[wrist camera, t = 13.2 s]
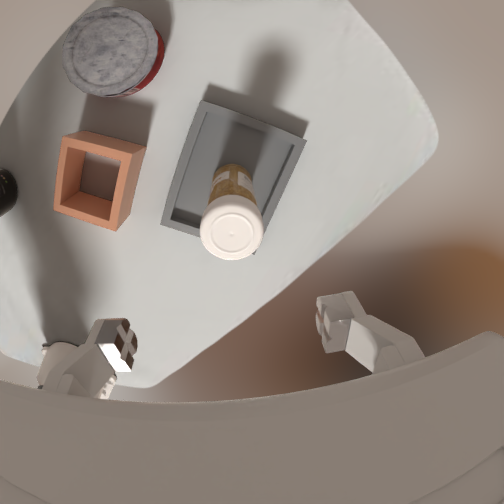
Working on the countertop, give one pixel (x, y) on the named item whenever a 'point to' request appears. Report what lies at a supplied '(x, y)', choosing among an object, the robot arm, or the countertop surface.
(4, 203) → the supplement bottle
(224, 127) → the charcoal tray
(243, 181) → the sprinkles bottle
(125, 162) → the terracotta holder
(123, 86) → the canned food
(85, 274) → the countertop surface
